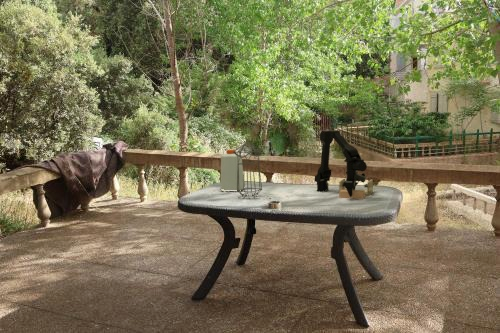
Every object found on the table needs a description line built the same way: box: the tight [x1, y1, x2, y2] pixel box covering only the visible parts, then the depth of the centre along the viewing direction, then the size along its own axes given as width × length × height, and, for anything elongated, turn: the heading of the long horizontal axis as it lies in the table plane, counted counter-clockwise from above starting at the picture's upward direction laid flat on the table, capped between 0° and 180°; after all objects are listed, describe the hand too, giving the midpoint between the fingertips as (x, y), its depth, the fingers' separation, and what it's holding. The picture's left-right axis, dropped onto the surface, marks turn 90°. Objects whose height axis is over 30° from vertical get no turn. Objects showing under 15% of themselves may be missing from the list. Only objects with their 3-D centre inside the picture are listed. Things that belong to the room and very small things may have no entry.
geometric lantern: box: [233, 141, 263, 198], centre depth 289 cm, size 16×16×35 cm
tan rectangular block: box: [338, 189, 366, 200], centre depth 276 cm, size 14×6×4 cm, turn 66°
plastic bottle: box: [220, 149, 246, 190], centre depth 317 cm, size 15×15×28 cm
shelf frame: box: [338, 178, 374, 196], centre depth 288 cm, size 18×12×8 cm, turn 66°
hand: (351, 195), depth 276 cm, fingers closed on tan rectangular block, 6 cm apart
